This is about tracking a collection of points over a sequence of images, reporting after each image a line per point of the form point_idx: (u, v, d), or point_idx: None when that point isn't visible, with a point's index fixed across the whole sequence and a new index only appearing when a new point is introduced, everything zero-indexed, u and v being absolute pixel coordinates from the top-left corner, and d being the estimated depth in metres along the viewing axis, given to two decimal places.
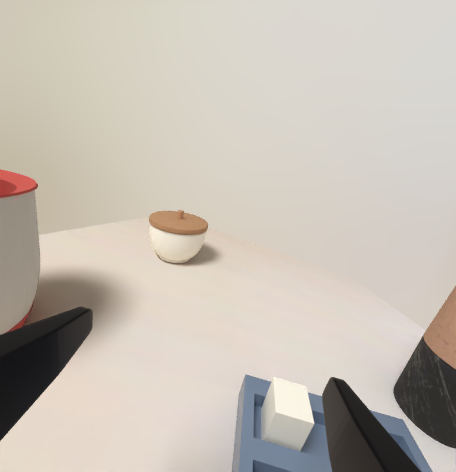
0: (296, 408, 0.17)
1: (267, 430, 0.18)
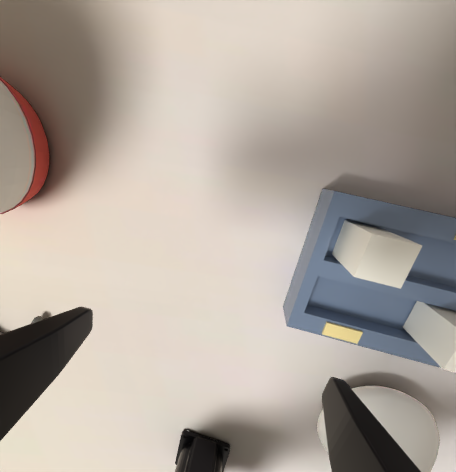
0: (385, 273, 0.14)
1: (341, 261, 0.16)
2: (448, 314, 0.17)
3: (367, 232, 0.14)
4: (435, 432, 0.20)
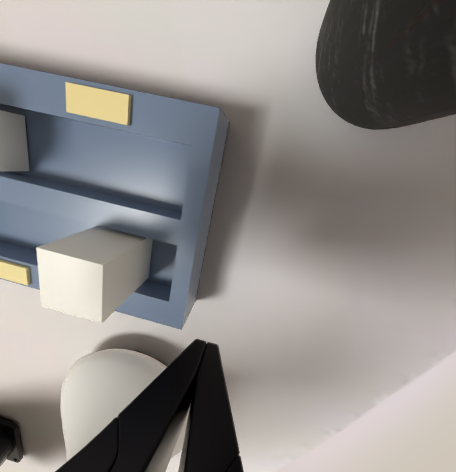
0: None
1: None
2: (101, 234, 0.11)
3: None
4: None
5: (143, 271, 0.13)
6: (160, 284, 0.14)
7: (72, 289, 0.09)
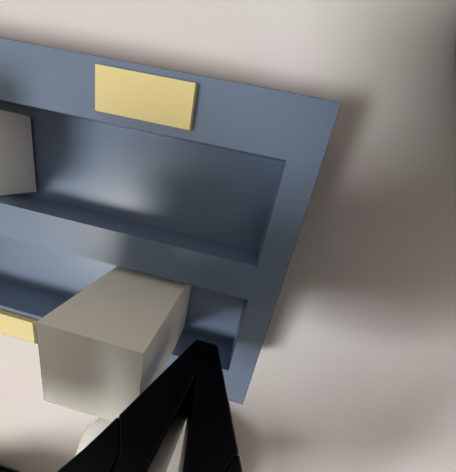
0: None
1: None
2: (128, 282, 0.08)
3: None
4: None
5: (181, 324, 0.10)
6: (209, 339, 0.11)
7: (92, 383, 0.06)
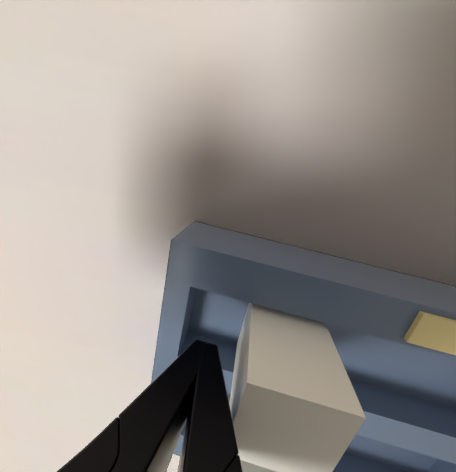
0: (287, 457, 0.06)
1: (233, 377, 0.09)
2: None
3: (247, 365, 0.06)
4: None
5: None
6: None
7: None
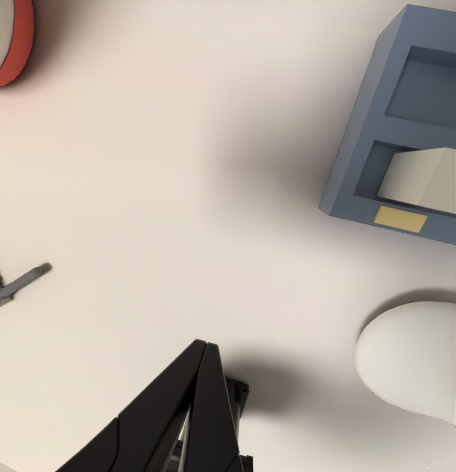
0: None
1: None
2: None
3: None
4: None
5: None
6: None
7: None
